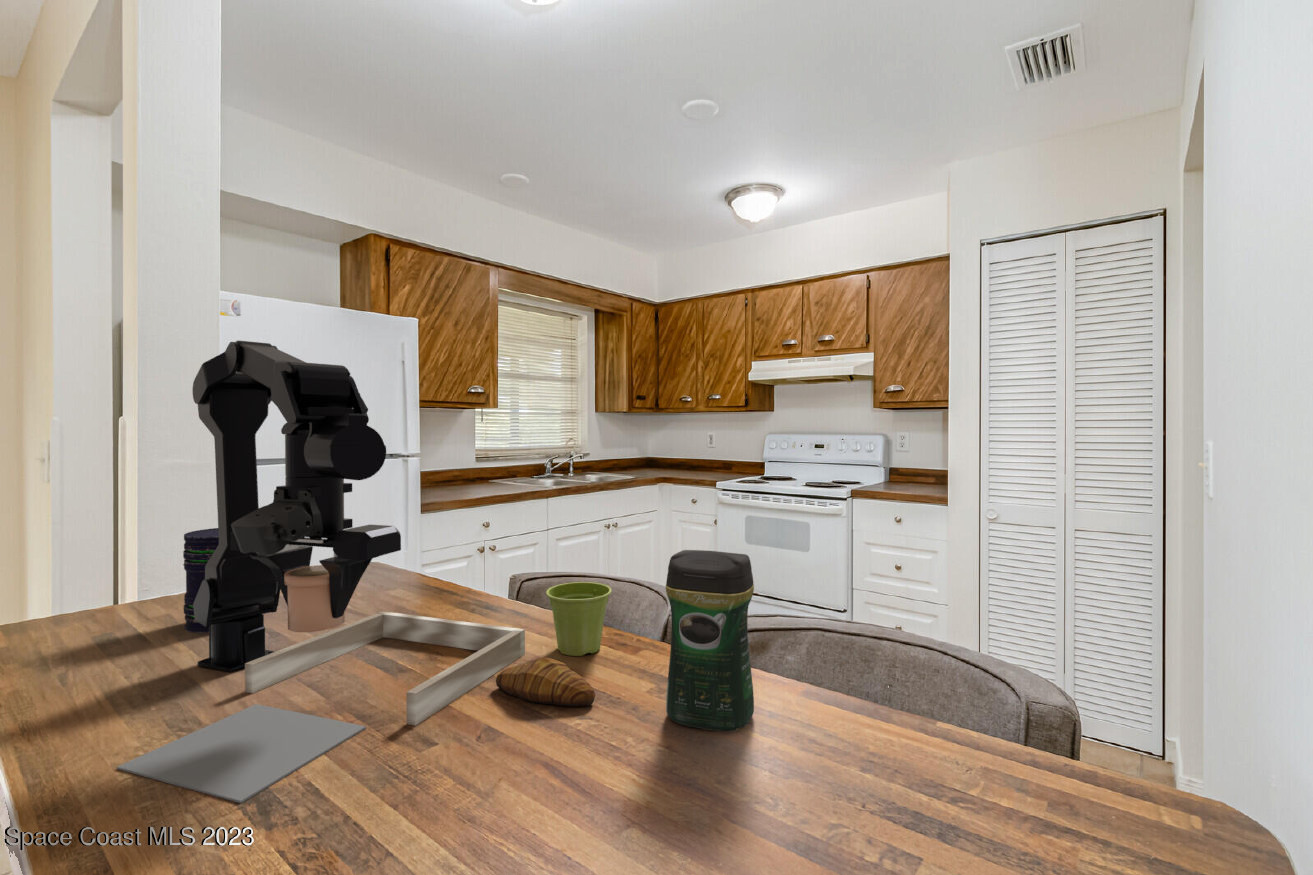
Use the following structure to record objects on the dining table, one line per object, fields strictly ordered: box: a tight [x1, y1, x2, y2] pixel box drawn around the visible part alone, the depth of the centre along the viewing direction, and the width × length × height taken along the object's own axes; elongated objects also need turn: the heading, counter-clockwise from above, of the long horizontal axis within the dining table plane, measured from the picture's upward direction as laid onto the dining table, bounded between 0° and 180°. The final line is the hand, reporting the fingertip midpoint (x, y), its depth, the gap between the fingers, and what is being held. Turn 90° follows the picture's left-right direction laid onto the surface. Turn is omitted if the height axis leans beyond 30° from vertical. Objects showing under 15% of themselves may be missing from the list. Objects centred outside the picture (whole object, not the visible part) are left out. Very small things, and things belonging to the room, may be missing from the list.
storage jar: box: [182, 527, 219, 634], centre depth 101 cm, size 10×10×15 cm
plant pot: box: [545, 581, 613, 657], centre depth 90 cm, size 9×9×9 cm
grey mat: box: [116, 703, 367, 804], centre depth 62 cm, size 16×14×1 cm
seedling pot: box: [284, 564, 346, 633], centre depth 69 cm, size 6×6×6 cm
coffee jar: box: [665, 549, 755, 733], centre depth 69 cm, size 10×8×19 cm
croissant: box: [495, 656, 596, 707], centre depth 74 cm, size 14×7×5 cm, turn 67°
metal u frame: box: [244, 611, 526, 727], centre depth 82 cm, size 25×22×4 cm
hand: (316, 615), depth 69 cm, fingers closed on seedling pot, 6 cm apart
